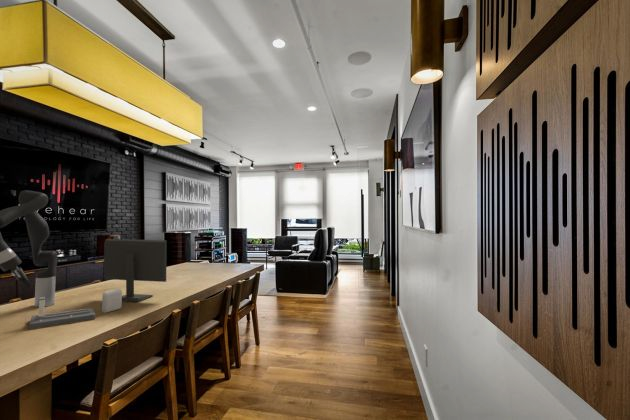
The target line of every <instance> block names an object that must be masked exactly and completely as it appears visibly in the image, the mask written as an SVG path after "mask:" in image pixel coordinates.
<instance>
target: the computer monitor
mask: <svg viewBox="0 0 630 420" xmlns="http://www.w3.org/2000/svg"><path fill="white" fill-rule="evenodd" d="M167 242H168V241H167V240H165V239H164V240H163V239H131V238H129V239H126V238H125V239H124V238H106V239H105V240H104V244H103V245H104V247H103V252H104V253H103V254H104V255H103V256H104V257H103V260H104V261H103V277H104V279H105V280H112V281H113V280H114V281H115V280H116V281H117V280H118V281H125V283H126V284H125V286H126V287H125V294H122V302H123V303H124V302H125V303H126V302H127V303H129V302H130V303H139V302H142V301H144V300H147V299H150V298H152V297H153V296H154V295H153V294H140V293H135V282H136V281H138V282H140V281H141V282H161V283H165V282H166V283H167V261H168V259H167V258H168V257H167V255H168V254H167V252H168V251H167V247H168V245H167Z"/></svg>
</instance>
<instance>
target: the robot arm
mask: <svg viewBox="0 0 630 420" xmlns="http://www.w3.org/2000/svg"><path fill="white" fill-rule="evenodd" d="M48 202H49V197H48V195H47V194H45V193H43V192H40V191H34V190H28V189H26V190H25V189H24V190H22V191H21V192H20V193H19V194H18V204H19V205H14V206H10V207H6V208H3V209H1V210H0V229H2V228H4V227H6V226H8V225H9V224H11V223H12V222H14V221H16V220H18V219H20V218H22V217H24V221H25V223H26V224H25V225H26V229H27V235H28V238H29V241H30V245H31V252H32V262H33V264H34V265H35V266H36V267H47V269H44V270H42V271H39V272H37V273H36V274H35V287H34V289H35V290H34V307H35V308H39V298H40V297H45V307H50V306H53V305H55V297H56V296H55V295H56V277H57V276H56V275H57V274H56V273H57V264H58V256H59V255H58V252H57V251H55V250H42V249H41V248H42V246H43V245H44V243H45V242H46V241H47V240H48V238H49V237H50V227H49V225H48V222H47V221H46V220H45V219H44V218H43V217H42V216H41V214H39V212H38V211H39V210H41V209H43V208H45V207H46V206H47V205H48V204H49V203H48ZM3 238H4V237H3V236H2V233H1V232H0V269H1V270H2V271H3V272H7V271H10V274H11V275H12V276H13V277H14V278H16V280H17V281H19V283H20V284H21V283H22V284H23V285H24V286H25V288H27V289H29V288H31V287H32V286H33V284H32V283H31V281H29V279H28V276H27V274H26V273H25V272H24V270H23V268H22V267H21V266H20V267H19V265H21V264H22V260H21V258H20V257H19V256H18V255H17V254H16V253H15V251H14V250H13V249H11V247H9V245H8V243H7V242H6V241H5V240H4V239H3Z"/></svg>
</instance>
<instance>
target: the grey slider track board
mask: <svg viewBox="0 0 630 420" xmlns="http://www.w3.org/2000/svg"><path fill="white" fill-rule="evenodd" d="M44 315H45V317H38V318H37V316H39V314H34V315H31V317H30V321H29V325H28V329H29V330H34V329H39V328H47V327H52V326H58V325H59V324H60V325H65V324H71V323H78V322H84V321H90V320H95V319H96V312H95V309H94V307H87V308H81V309H79V308H78V309H71V310H65V311H57V312H51V313H50V312H49V313H44Z"/></svg>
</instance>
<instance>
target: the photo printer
mask: <svg viewBox="0 0 630 420" xmlns="http://www.w3.org/2000/svg"><path fill="white" fill-rule="evenodd" d="M122 296H123V291H122V289H121V288H112V289H108V290H106V291H104V292H102V298H101V299H102V301H101V312H102V313H104V314H106V313H109V312H113V311H117V310H121V309H122V308H123V307H122V304H123V303H122V302H123V301H122Z"/></svg>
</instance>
